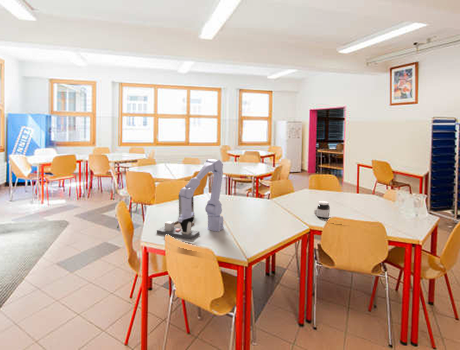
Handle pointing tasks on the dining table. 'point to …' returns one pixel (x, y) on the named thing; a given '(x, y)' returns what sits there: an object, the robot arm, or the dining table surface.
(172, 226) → the seated plug
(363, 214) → the dining table surface
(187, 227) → the white plug
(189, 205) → the robot arm
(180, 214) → the coffee box
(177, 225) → the tray
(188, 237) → the power strip
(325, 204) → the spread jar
